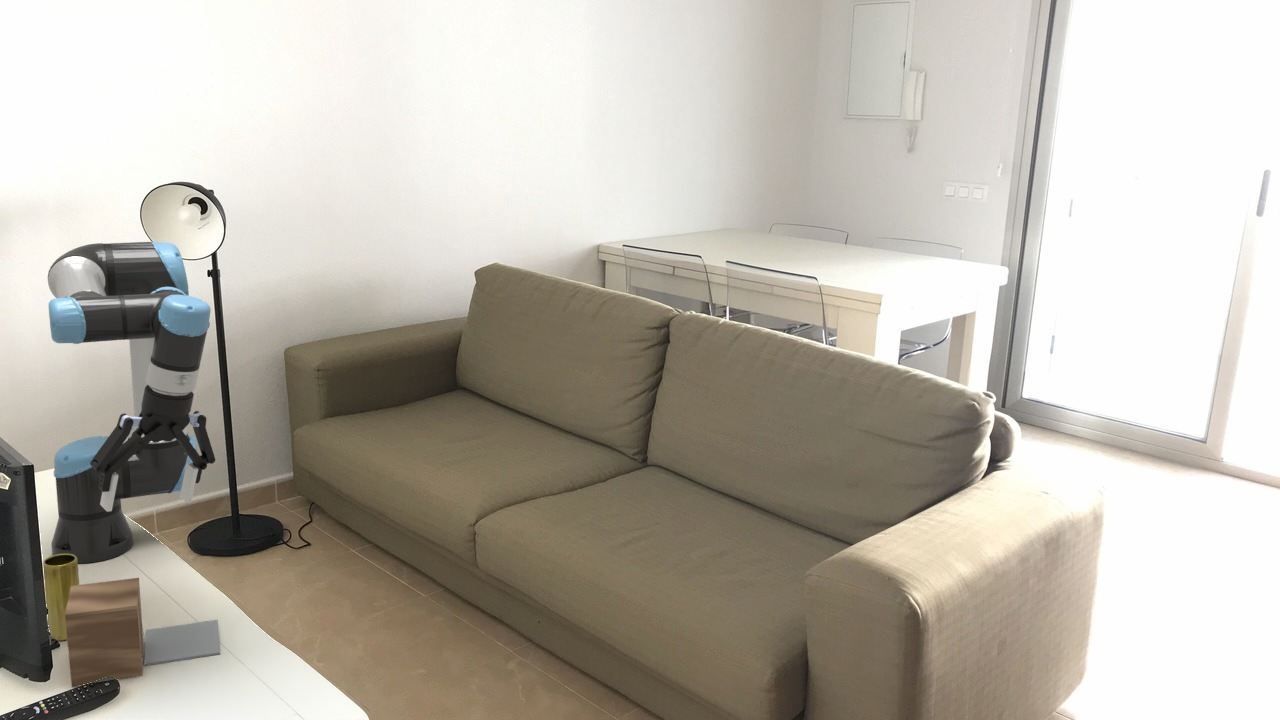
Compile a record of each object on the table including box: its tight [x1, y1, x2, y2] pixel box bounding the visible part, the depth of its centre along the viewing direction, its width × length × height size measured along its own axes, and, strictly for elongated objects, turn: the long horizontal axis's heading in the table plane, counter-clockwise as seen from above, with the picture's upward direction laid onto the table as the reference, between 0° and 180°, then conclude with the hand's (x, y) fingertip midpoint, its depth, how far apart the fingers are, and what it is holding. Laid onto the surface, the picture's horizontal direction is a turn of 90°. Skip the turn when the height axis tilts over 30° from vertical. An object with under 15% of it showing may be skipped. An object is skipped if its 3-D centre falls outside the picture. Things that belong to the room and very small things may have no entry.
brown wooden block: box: [65, 577, 145, 688], centre depth 172 cm, size 10×10×13 cm
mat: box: [143, 619, 221, 667], centre depth 182 cm, size 12×12×1 cm
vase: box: [42, 553, 81, 642], centre depth 181 cm, size 6×6×14 cm
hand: (146, 503), depth 174 cm, fingers open, 13 cm apart
